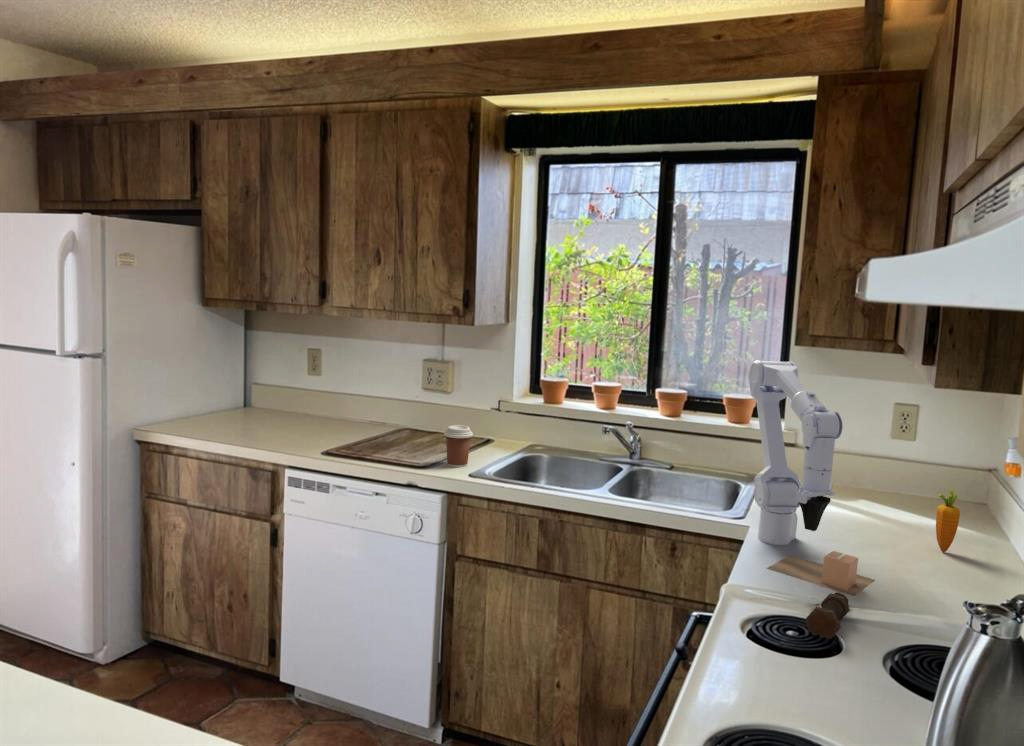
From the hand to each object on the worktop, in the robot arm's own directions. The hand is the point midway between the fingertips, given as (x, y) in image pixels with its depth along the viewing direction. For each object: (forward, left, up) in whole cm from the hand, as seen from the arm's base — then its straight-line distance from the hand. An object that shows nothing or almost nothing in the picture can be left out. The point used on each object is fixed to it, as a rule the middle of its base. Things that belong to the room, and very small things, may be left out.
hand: (810, 529), depth 164 cm
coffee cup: (0, -111, -10) cm, 111 cm away
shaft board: (+3, +4, -9) cm, 11 cm away
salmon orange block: (+5, +8, -8) cm, 13 cm away
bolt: (+22, +13, -10) cm, 27 cm away
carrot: (-39, +17, -10) cm, 44 cm away
